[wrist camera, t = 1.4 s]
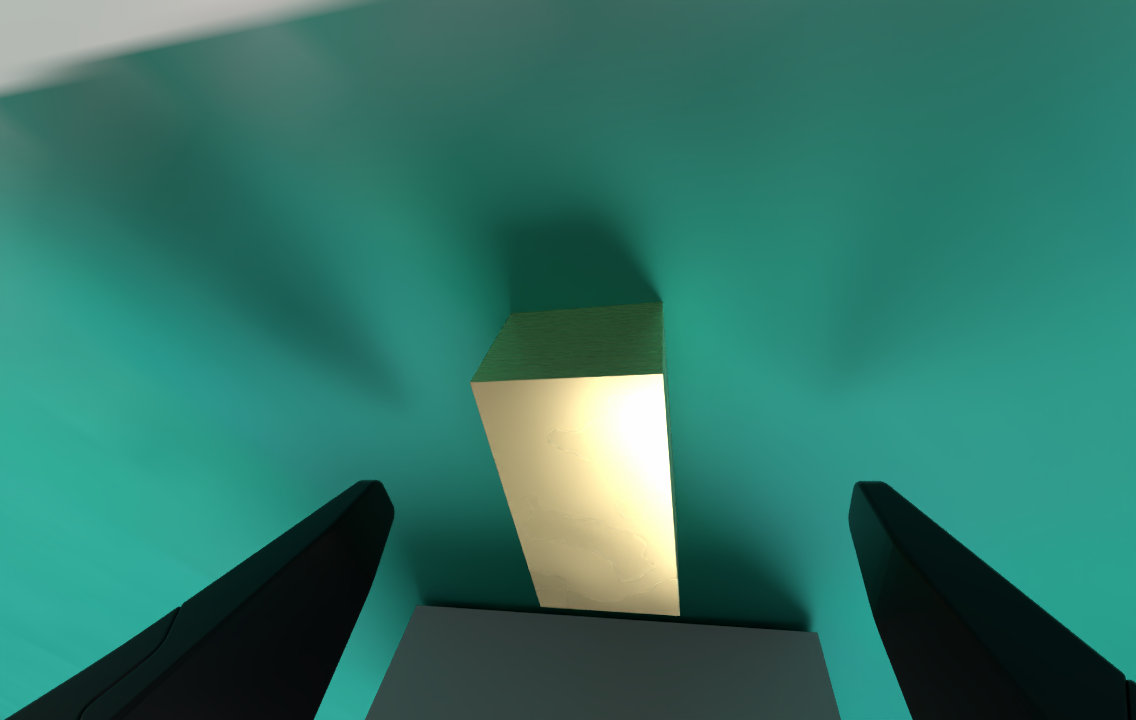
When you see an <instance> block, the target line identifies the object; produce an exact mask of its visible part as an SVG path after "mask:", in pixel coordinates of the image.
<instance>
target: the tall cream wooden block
mask: <svg viewBox="0 0 1136 720" xmlns="http://www.w3.org/2000/svg"><path fill="white" fill-rule="evenodd" d="M470 384H471V387H472V390H473V393H474V397H475V400H476V403H477V406H478V409H479V413H480V416H481V419H482V422H483V425H484V428H485V432H486V435H487V438H488V441H489V444H490V447H491V451H492V454H493V457H494V460H495V463H496V466H497V470H498V473H499V476H500V479H501V482H502V485H503V489H504V492H505V495H506V498H507V501H508V504H509V508H510V511H511V514H512V517H513V520H514V523H515V527H516V530H517V533H518V536H519V539H520V542H521V546H522V549H523V552H524V555H525V558H526V562H527V565H528V568H529V571H530V574H531V577H532V581H533V584H534V587H535V590H536V593H537V596H538V600H539V603H540V606H541V607H551V608H566V609H582V610H597V611H612V612H628V613H643V614H658V615H673V616H680V600H679V569H678V538H677V514H676V499H675V484H674V469H673V454H672V438H671V423H670V408H669V393H668V378H667V362H666V347H665V332H664V317H663V302H653V303H640V304H627V305H614V306H600V307H587V308H574V309H560V310H547V311H534V312H521V313H511V314H510V316H509V317H508V319H507V321H506V322H505V324H504V326H503V327H502V329H501V331H500V332H499V334H498V336H497V338H496V339H495V341H494V343H493V344H492V346H491V348H490V349H489V351H488V353H487V354H486V356H485V358H484V360H483V361H482V363H481V365H480V366H479V368H478V370H477V371H476V373H475V375H474V376H473V378H472V380H471V382H470Z"/></svg>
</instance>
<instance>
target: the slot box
mask: <svg viewBox="0 0 1136 720" xmlns="http://www.w3.org/2000/svg"><path fill="white" fill-rule="evenodd" d="M365 720H841V718H840V715H839V711H838V707H837V704H836V700H835V696H834V692H833V689H832V685H831V681H830V678H829V674H828V670H827V666H826V663H825V659H824V655H823V652H822V648H821V644H820V640H819V637H818V633H816V632H801V631H786V630H772V629H757V628H742V627H728V626H713V625H699V624H684V623H669V622H655V621H640V620H625V619H611V618H596V617H582V616H567V615H552V614H538V613H523V612H509V611H494V610H479V609H465V608H450V607H435V606H421V605H417V606H416V608H415V610H414V612H413V614H412V617H411V619H410V621H409V623H408V626H407V628H406V630H405V632H404V634H403V637H402V639H401V641H400V643H399V645H398V648H397V650H396V652H395V654H394V657H393V659H392V661H391V663H390V665H389V668H388V670H387V672H386V674H385V676H384V679H383V681H382V683H381V685H380V688H379V690H378V692H377V694H376V696H375V699H374V701H373V703H372V705H371V707H370V710H369V712H368V714H367V716H366V719H365Z"/></svg>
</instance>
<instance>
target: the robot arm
mask: <svg viewBox="0 0 1136 720" xmlns="http://www.w3.org/2000/svg"><path fill="white" fill-rule="evenodd" d="M394 514H395V513H394V506H393V504H392V502H391V500H390V498H389V496H388V494H387V491H386V489H385V487H384V485H383V484H382V483H381V482H380V481H379V480H361V481H358V482H357V483H355V484H354V485H353V486H351V487H350V488H348V489H347V490H345V491H344V492H342V493H341V494H340V495H338V496H337V497H335V498H334V499H332V500H331V501H330V502H328V503H327V504H325V505H324V506H322V507H321V508H319V509H318V510H317V511H315V512H314V513H312V514H311V515H309V516H308V517H306V518H305V519H304V520H302V521H301V522H299V523H298V524H296V525H295V526H294V527H292V528H291V529H289V530H288V531H286V532H285V533H283V534H282V535H281V536H279V537H278V538H276V539H275V540H273V541H272V542H271V543H269V544H268V545H266V546H265V547H263V548H262V549H260V550H259V551H258V552H256V553H255V554H253V555H252V556H250V557H249V558H248V559H246V560H245V561H243V562H242V563H240V564H239V565H237V566H236V567H235V568H233V569H232V570H230V571H229V572H227V573H226V574H225V575H223V576H222V577H220V578H219V579H217V580H216V581H214V582H213V583H212V584H210V585H209V586H207V587H206V588H204V589H203V590H202V591H200V592H199V593H197V594H196V595H194V596H193V597H191V598H190V599H189V600H187V601H186V602H184V603H183V604H182V606H181V607H177V608H175V609H174V610H173V611H171V612H170V613H168V614H167V615H165V616H164V617H163V618H161V619H160V620H158V621H157V622H155V623H154V624H153V625H151V626H150V627H148V628H147V629H145V630H144V631H142V632H141V633H139V634H138V635H136V636H135V637H133V638H132V639H130V640H129V641H127V642H126V643H125V644H123V645H122V646H120V647H118V648H117V649H115V650H114V651H112V652H111V653H109V654H108V655H106V656H104V657H103V658H101V659H100V660H98V661H97V662H95V663H94V664H92V665H90V666H89V667H87V668H86V669H84V670H83V671H81V672H79V673H78V674H76V675H75V676H73V677H71V678H70V679H68V680H67V681H65V682H64V683H62V684H60V685H59V686H57V687H56V688H54V689H52V690H51V691H49V692H48V693H46V694H45V695H43V696H41V697H40V698H38V699H37V700H35V701H33V702H32V703H30V704H29V705H27V706H25V707H24V708H22V709H21V710H19V711H18V712H16V713H14V714H13V715H11V716H10V717H8V718H6V719H5V720H314V718H315V716H316V713H317V711H318V709H319V706H320V704H321V702H322V700H323V697H324V695H325V693H326V690H327V688H328V686H329V683H330V681H331V679H332V677H333V674H334V672H335V670H336V667H337V665H338V663H339V661H340V658H341V656H342V654H343V651H344V649H345V647H346V644H347V642H348V640H349V638H350V635H351V633H352V631H353V628H354V626H355V624H356V622H357V619H358V617H359V615H360V612H361V610H362V608H363V605H364V603H365V601H366V598H367V596H368V594H369V591H370V589H371V586H372V583H373V580H374V578H375V575H376V572H377V569H378V566H379V562H380V559H381V556H382V553H383V550H384V547H385V544H386V541H387V538H388V535H389V532H390V529H391V526H392V523H393V520H394ZM848 519H849V527H850V531H851V535H852V539H853V543H854V547H855V550H856V554H857V558H858V562H859V566H860V569H861V573H862V577H863V581H864V585H865V588H866V592H867V596H868V600H869V603H870V607H871V610H872V614H873V617H874V620H875V623H876V626H877V629H878V631H879V634H880V637H881V639H882V642H883V645H884V647H885V650H886V652H887V655H888V657H889V660H890V663H891V665H892V668H893V670H894V673H895V675H896V678H897V681H898V683H899V686H900V688H901V691H902V693H903V696H904V699H905V701H906V704H907V706H908V709H909V711H910V714H911V717H912V719H913V720H1136V683H1135V682H1134V681H1132V680H1126V677H1125V675H1124V674H1123V673H1122V672H1121V671H1120V670H1119V669H1117V668H1116V667H1115V666H1114V665H1112V664H1111V663H1110V662H1109V661H1107V660H1106V659H1105V658H1104V657H1102V656H1101V655H1100V654H1099V653H1097V652H1096V651H1095V650H1094V649H1093V648H1091V647H1090V646H1089V645H1088V644H1086V643H1085V642H1084V641H1083V640H1081V639H1080V638H1079V637H1078V636H1076V635H1075V634H1074V633H1073V632H1071V631H1070V630H1069V629H1068V628H1066V627H1065V626H1064V625H1063V624H1061V623H1060V622H1059V621H1058V620H1056V619H1055V618H1054V617H1053V616H1051V615H1050V614H1049V613H1048V612H1046V611H1045V610H1044V609H1043V608H1041V607H1040V606H1039V605H1038V604H1036V603H1035V602H1034V601H1033V600H1031V599H1030V598H1029V597H1028V596H1026V595H1025V594H1024V593H1023V592H1021V591H1020V590H1019V589H1018V588H1016V587H1015V586H1014V585H1013V584H1011V583H1010V582H1009V581H1008V580H1006V579H1005V578H1004V577H1003V576H1001V575H1000V574H999V573H998V572H996V571H995V570H994V569H993V568H992V567H990V566H989V565H988V564H987V563H985V562H984V561H983V560H982V559H980V558H979V557H978V556H977V555H975V554H974V553H973V552H972V551H970V550H969V549H968V548H967V547H965V546H964V545H963V544H962V543H960V542H959V541H958V540H957V539H955V538H954V537H953V536H952V535H950V534H949V533H948V532H947V531H945V530H944V529H943V528H942V527H940V526H939V525H938V524H937V523H935V522H934V521H933V520H932V519H930V518H929V517H928V516H927V515H925V514H924V513H923V512H922V511H920V510H919V509H918V508H917V507H915V506H914V505H913V504H912V503H910V502H909V501H908V500H907V499H905V498H904V497H903V496H902V495H900V494H899V493H898V492H897V491H895V490H894V489H893V488H892V487H891V486H889V485H888V484H886V483H884V482H882V481H859V482H856V483H855V485H854V488H853V493H852V498H851V504H850V509H849V517H848Z"/></svg>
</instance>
